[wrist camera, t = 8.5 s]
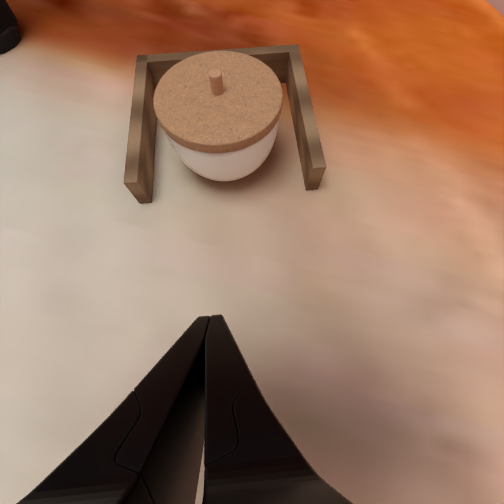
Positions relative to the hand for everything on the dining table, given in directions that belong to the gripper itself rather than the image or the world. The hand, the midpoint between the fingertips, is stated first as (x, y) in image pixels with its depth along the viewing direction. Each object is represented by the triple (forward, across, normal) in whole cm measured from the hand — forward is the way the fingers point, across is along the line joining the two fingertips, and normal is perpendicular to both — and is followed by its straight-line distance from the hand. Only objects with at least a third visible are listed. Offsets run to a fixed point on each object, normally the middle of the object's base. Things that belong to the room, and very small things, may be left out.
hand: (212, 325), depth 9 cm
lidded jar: (+23, 0, -4) cm, 23 cm away
